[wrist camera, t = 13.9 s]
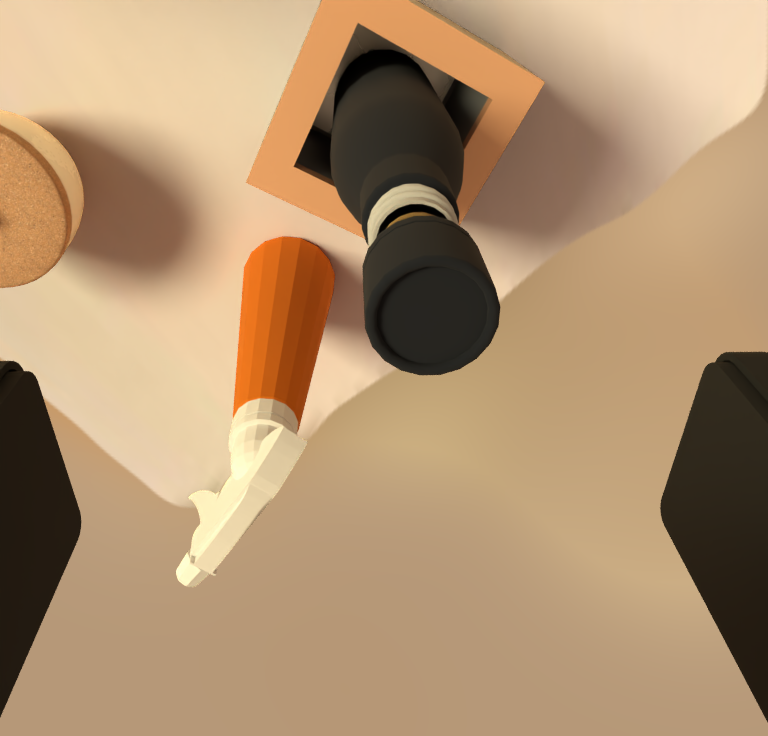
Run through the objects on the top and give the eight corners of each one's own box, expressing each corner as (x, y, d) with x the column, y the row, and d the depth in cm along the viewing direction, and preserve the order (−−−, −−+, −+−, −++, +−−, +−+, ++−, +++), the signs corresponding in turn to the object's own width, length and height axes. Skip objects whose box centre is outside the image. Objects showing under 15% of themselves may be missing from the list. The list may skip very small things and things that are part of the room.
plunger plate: (359, 17, 42) (359, 19, 42) (454, 72, 44) (456, 75, 44) (312, 121, 46) (312, 124, 45) (403, 167, 48) (404, 171, 47)
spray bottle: (199, 315, 54) (99, 577, 32) (279, 216, 50) (227, 437, 28) (272, 362, 57) (225, 634, 35) (353, 272, 53) (359, 514, 31)
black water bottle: (360, 29, 42) (382, 167, 17) (450, 78, 44) (592, 271, 18) (318, 125, 45) (282, 366, 20) (403, 167, 47) (472, 439, 21)
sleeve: (340, -46, 41) (338, -41, 32) (503, 52, 45) (545, 82, 36) (265, 134, 47) (246, 182, 38) (416, 209, 50) (432, 270, 41)
